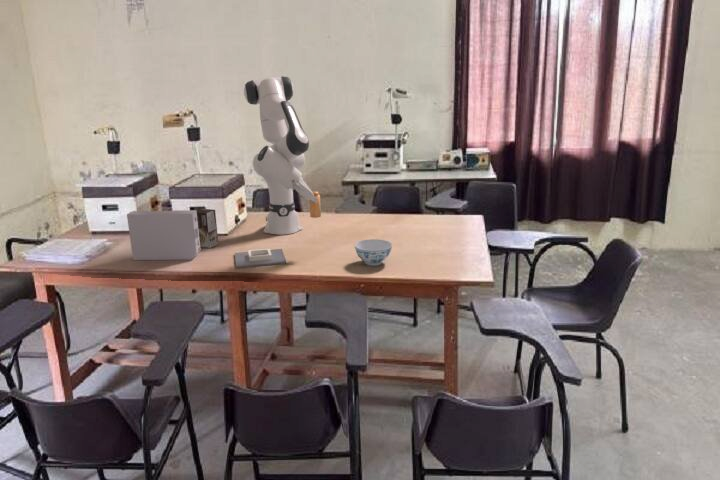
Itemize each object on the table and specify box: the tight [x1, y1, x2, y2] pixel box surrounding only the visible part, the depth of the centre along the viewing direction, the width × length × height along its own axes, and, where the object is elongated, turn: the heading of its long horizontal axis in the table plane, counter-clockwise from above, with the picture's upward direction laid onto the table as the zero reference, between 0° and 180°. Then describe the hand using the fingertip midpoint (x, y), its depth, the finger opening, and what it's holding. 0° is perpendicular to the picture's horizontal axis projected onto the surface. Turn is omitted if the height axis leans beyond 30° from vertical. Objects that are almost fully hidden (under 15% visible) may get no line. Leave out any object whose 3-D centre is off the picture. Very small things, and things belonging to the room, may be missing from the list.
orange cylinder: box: [309, 191, 322, 219], centre depth 244 cm, size 4×4×10 cm
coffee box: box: [195, 207, 219, 249], centre depth 263 cm, size 9×6×16 cm
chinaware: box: [354, 238, 393, 267], centre depth 236 cm, size 15×15×8 cm
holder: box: [234, 248, 288, 269], centre depth 244 cm, size 18×20×3 cm
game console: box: [126, 209, 201, 261], centre depth 246 cm, size 6×27×20 cm, turn 88°
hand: (316, 200), depth 243 cm, fingers closed on orange cylinder, 4 cm apart
